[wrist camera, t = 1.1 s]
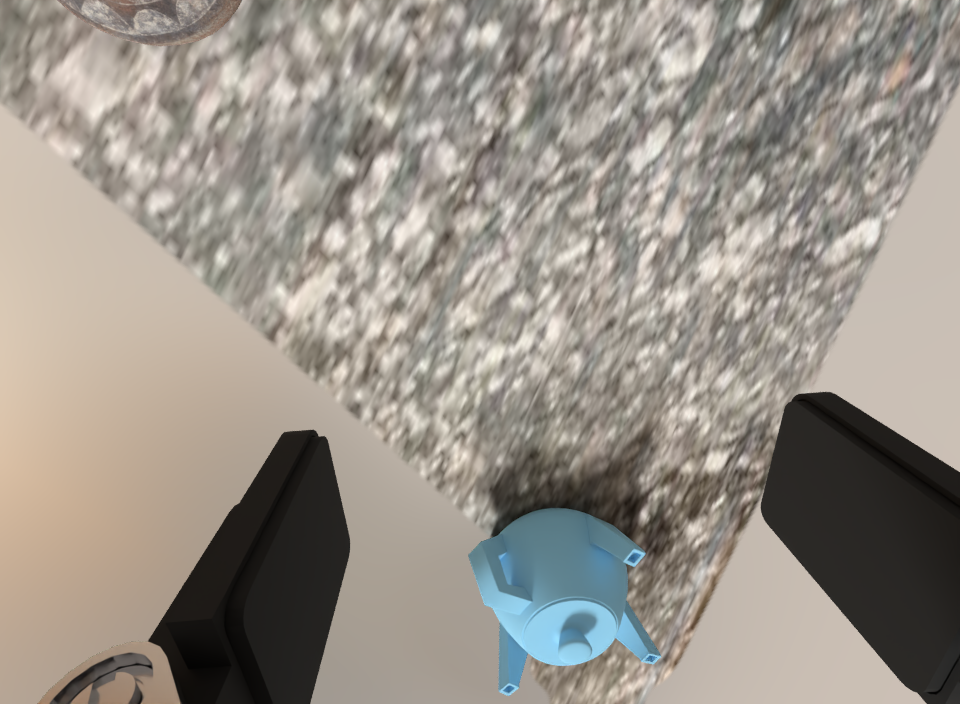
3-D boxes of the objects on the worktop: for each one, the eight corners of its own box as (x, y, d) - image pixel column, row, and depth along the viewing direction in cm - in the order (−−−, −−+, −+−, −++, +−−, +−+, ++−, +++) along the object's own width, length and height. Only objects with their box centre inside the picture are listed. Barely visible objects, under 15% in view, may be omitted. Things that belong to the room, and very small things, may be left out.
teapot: (617, 476, 44) (666, 567, 34) (629, 587, 50) (674, 692, 40) (463, 509, 44) (466, 608, 34) (492, 614, 50) (503, 726, 40)
